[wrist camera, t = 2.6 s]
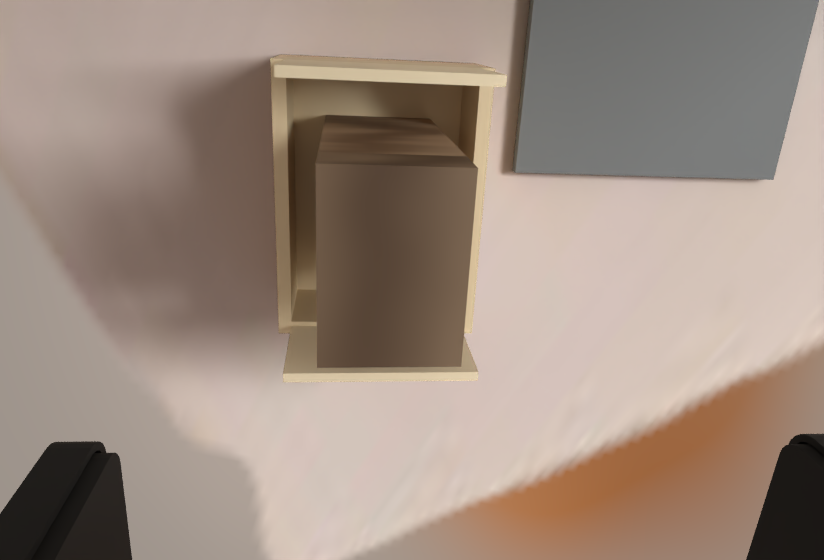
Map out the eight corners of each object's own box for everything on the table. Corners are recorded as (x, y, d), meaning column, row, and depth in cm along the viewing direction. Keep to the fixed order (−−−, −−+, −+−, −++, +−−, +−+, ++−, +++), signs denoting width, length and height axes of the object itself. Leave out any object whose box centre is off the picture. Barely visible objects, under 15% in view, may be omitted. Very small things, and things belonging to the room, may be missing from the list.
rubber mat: (841, -125, 29) (851, -128, 29) (766, 177, 34) (773, 179, 34) (545, -150, 28) (550, -154, 27) (512, 170, 33) (515, 172, 32)
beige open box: (474, 63, 31) (523, 75, 22) (456, 297, 35) (491, 380, 27) (280, 54, 30) (255, 63, 21) (286, 296, 34) (268, 382, 26)
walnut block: (429, 118, 31) (477, 168, 20) (422, 254, 33) (461, 366, 22) (325, 114, 30) (315, 163, 19) (325, 253, 33) (317, 367, 22)
